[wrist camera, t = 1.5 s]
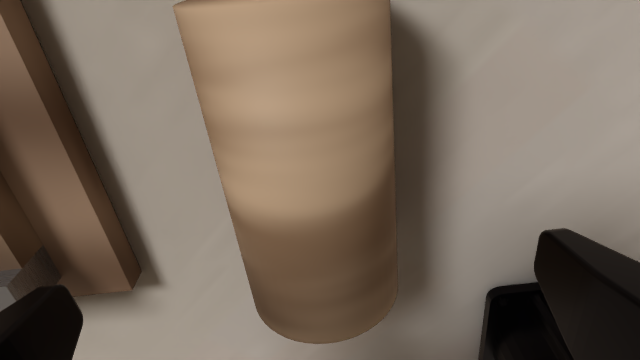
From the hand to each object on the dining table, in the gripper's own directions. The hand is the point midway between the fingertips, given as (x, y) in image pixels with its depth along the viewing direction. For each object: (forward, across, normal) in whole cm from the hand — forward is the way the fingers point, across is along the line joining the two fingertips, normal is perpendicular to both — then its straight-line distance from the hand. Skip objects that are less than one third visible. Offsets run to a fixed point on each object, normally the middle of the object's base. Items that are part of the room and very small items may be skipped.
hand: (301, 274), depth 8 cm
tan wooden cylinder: (+7, 0, 0) cm, 7 cm away
